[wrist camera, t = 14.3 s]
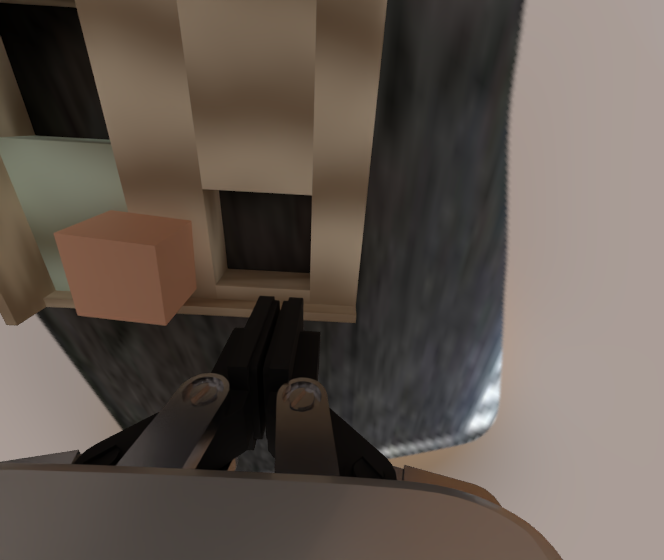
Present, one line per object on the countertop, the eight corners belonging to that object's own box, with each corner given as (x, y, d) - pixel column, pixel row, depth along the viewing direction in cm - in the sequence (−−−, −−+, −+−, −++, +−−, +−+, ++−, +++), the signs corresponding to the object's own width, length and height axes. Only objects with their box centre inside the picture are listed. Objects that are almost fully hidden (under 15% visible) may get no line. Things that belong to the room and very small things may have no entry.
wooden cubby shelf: (-40, -43, 15) (-230, -125, 10) (383, -16, 15) (405, -82, 10) (78, 280, 23) (6, 325, 18) (352, 294, 23) (357, 342, 18)
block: (110, 210, 18) (53, 233, 14) (191, 220, 18) (154, 245, 14) (124, 279, 20) (77, 315, 16) (196, 288, 20) (166, 325, 16)
